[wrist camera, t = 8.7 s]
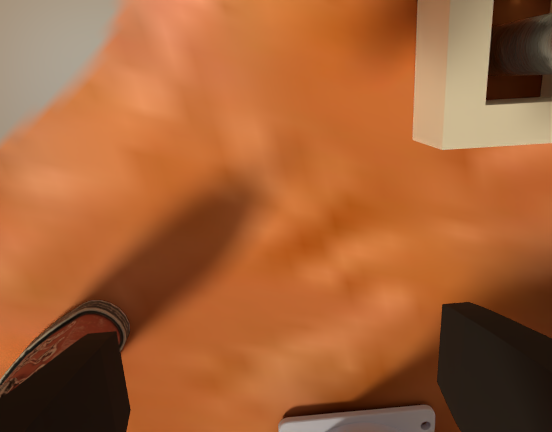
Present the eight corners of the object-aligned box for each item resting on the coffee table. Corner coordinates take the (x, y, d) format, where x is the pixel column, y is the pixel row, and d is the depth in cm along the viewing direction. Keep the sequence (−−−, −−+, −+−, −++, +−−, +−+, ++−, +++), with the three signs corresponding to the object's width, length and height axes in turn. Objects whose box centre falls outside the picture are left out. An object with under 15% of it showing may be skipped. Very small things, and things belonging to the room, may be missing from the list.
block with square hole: (569, 130, 20) (624, 138, 17) (412, 139, 19) (442, 149, 16) (593, -50, 18) (661, -75, 15) (419, -43, 17) (454, -68, 14)
